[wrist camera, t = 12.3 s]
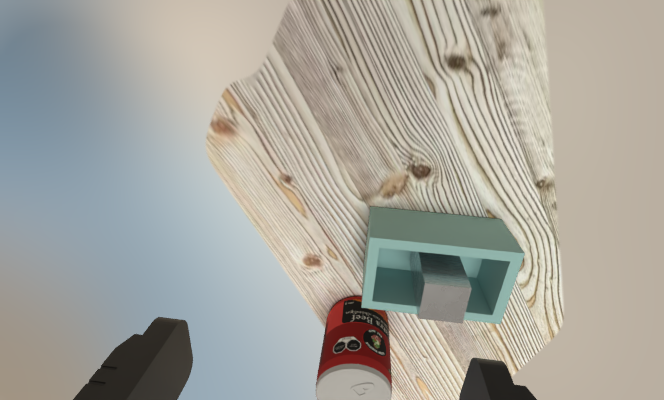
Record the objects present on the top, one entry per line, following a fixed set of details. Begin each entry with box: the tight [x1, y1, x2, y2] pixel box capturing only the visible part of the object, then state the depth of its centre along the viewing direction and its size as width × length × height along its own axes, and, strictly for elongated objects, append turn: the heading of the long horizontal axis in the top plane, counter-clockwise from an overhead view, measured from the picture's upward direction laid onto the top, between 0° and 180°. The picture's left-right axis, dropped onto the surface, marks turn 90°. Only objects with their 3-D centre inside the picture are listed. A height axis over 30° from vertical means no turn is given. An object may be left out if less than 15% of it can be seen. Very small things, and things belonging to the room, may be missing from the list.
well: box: [361, 206, 525, 324], centre depth 37 cm, size 8×14×7 cm, turn 87°
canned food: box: [316, 296, 392, 400], centre depth 41 cm, size 8×8×11 cm
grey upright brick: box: [409, 251, 472, 323], centre depth 36 cm, size 4×4×9 cm
